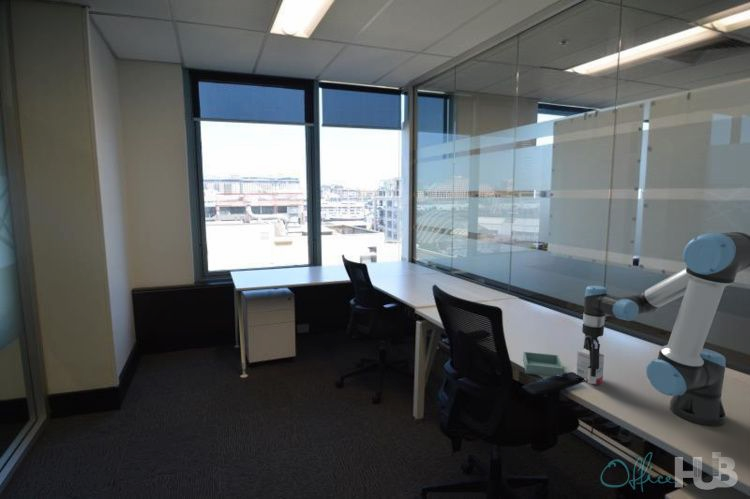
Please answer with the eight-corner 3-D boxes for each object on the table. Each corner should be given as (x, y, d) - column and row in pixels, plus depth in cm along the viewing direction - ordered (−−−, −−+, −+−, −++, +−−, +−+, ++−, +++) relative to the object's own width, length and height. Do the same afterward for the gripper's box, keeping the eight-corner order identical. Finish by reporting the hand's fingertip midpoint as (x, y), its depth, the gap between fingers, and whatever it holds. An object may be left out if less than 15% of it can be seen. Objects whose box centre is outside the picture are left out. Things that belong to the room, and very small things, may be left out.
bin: (562, 377, 169) (563, 368, 169) (525, 373, 173) (526, 364, 173) (557, 363, 183) (557, 355, 183) (523, 360, 187) (523, 351, 186)
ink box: (603, 382, 165) (605, 354, 163) (596, 386, 162) (598, 357, 160) (582, 374, 172) (584, 347, 170) (575, 377, 169) (577, 350, 168)
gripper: (611, 334, 152) (606, 391, 156) (597, 317, 173) (592, 368, 176) (589, 332, 154) (584, 389, 158) (577, 315, 175) (573, 366, 178)
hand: (589, 378), depth 167 cm, fingers closed on ink box, 9 cm apart
